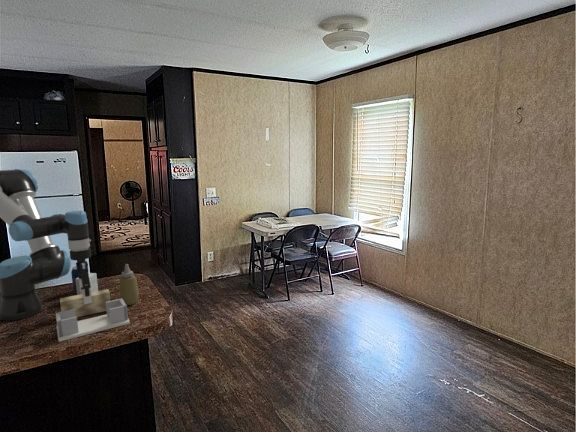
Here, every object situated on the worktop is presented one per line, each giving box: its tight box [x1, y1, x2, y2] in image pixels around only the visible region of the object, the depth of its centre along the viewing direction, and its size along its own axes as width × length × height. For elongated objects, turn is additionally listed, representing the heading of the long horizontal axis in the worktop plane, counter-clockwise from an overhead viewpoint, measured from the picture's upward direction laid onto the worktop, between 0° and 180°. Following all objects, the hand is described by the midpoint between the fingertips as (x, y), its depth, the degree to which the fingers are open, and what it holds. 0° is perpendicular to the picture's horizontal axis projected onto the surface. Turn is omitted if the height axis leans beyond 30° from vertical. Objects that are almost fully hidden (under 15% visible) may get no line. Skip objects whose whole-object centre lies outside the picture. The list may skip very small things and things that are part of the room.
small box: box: [75, 272, 99, 295], centre depth 169 cm, size 8×6×10 cm
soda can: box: [70, 266, 78, 294], centre depth 176 cm, size 7×7×12 cm
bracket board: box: [55, 298, 131, 343], centre depth 141 cm, size 24×12×7 cm, turn 125°
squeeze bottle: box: [119, 263, 140, 306], centre depth 161 cm, size 8×8×18 cm
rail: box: [59, 289, 112, 318], centre depth 152 cm, size 18×4×8 cm, turn 123°
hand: (86, 298), depth 152 cm, fingers open, 13 cm apart
